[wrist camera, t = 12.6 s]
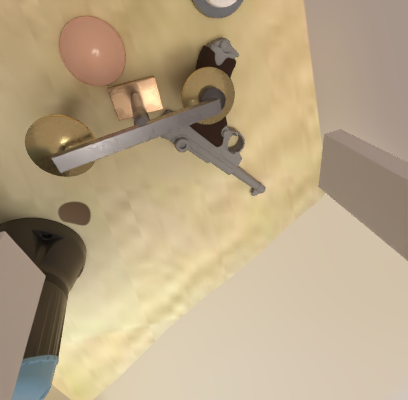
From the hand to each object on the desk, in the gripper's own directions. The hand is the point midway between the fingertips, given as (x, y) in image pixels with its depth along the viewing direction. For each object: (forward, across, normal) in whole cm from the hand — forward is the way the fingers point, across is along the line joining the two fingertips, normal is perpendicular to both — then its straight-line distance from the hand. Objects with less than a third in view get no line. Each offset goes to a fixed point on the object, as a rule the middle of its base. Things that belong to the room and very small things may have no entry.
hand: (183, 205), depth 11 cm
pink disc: (+29, -4, +4) cm, 29 cm away
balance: (+29, -1, -2) cm, 29 cm away
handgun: (+29, +13, -11) cm, 34 cm away
